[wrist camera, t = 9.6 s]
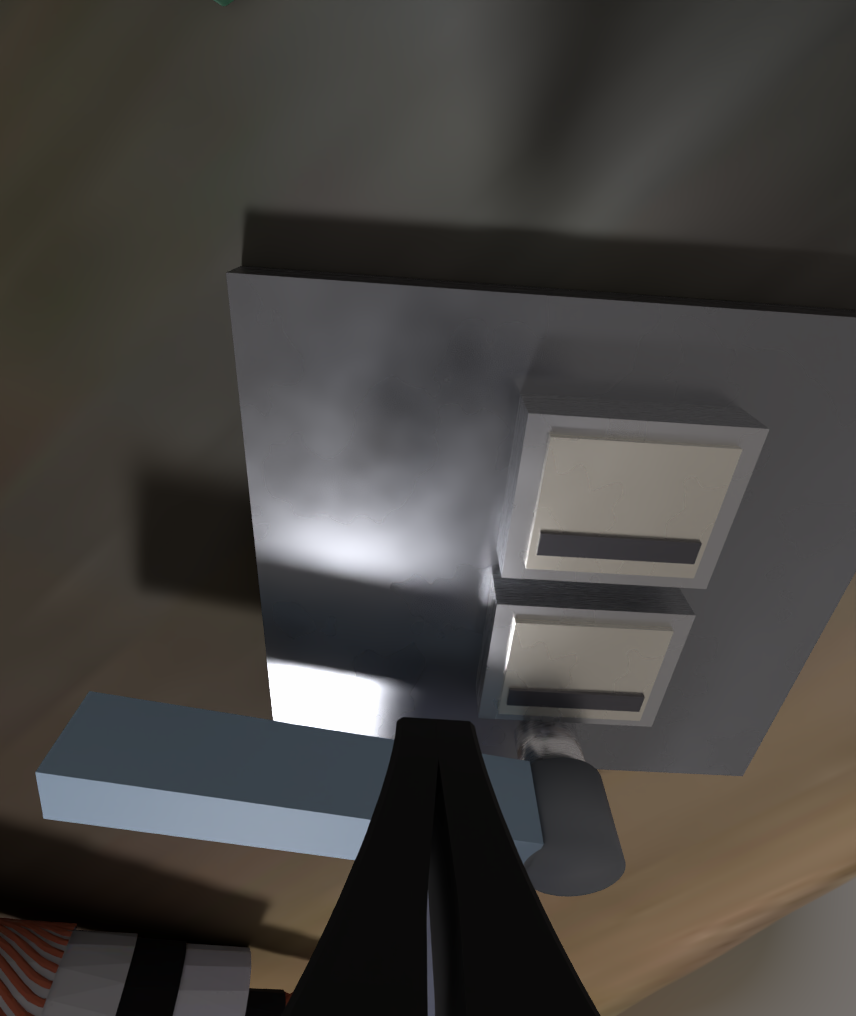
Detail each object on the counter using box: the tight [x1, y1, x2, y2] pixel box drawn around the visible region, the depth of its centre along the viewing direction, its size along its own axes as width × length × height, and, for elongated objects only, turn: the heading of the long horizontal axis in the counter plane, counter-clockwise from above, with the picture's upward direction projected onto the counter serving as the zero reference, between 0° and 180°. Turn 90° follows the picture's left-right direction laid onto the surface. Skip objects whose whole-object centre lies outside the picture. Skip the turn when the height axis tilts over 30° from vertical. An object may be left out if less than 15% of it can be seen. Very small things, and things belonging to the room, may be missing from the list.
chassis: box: [226, 266, 856, 776], centre depth 18 cm, size 18×19×3 cm
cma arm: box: [35, 691, 625, 896], centre depth 18 cm, size 18×3×3 cm, turn 77°
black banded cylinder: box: [0, 918, 293, 1016], centre depth 28 cm, size 10×34×10 cm, turn 66°
